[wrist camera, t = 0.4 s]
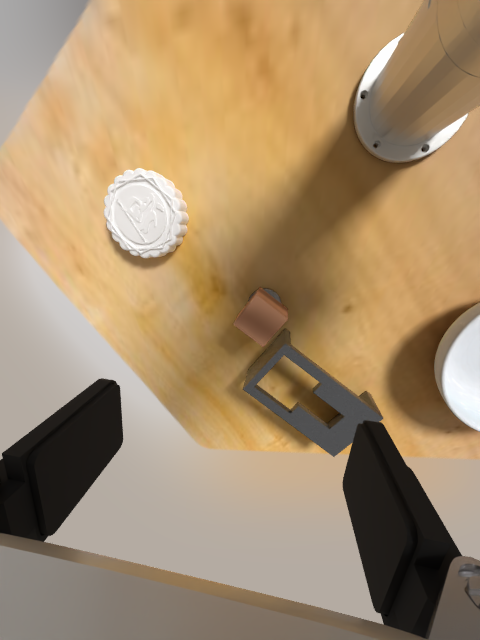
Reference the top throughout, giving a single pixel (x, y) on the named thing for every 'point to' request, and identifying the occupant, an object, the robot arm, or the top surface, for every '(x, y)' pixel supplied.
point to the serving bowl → (461, 367)
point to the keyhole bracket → (328, 389)
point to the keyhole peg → (262, 316)
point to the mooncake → (145, 213)
